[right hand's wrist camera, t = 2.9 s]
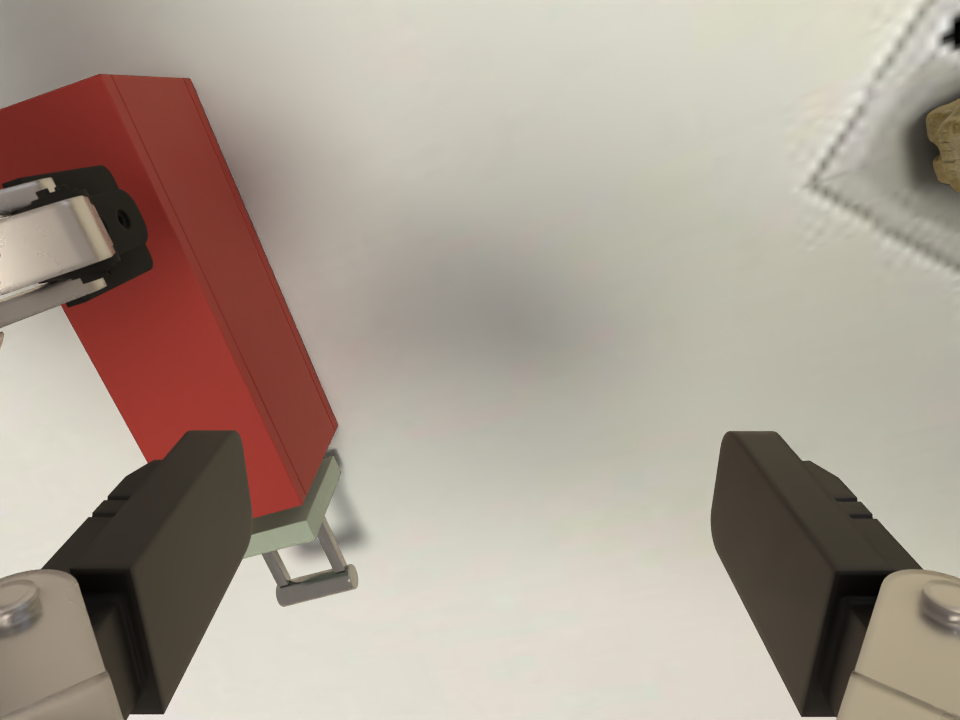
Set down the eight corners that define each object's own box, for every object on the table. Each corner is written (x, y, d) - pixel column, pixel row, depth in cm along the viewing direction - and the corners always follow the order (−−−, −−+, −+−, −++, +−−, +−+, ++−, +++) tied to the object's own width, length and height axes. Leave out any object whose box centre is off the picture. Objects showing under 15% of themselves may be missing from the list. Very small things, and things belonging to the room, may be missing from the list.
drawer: (372, 542, 41) (352, 619, 35) (300, 561, 42) (268, 639, 36) (204, 158, 33) (142, 172, 27) (117, 187, 33) (37, 207, 28)
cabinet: (338, 425, 39) (302, 505, 32) (244, 451, 40) (187, 536, 32) (190, 78, 32) (99, 73, 25) (80, 116, 33) (-41, 123, 26)
